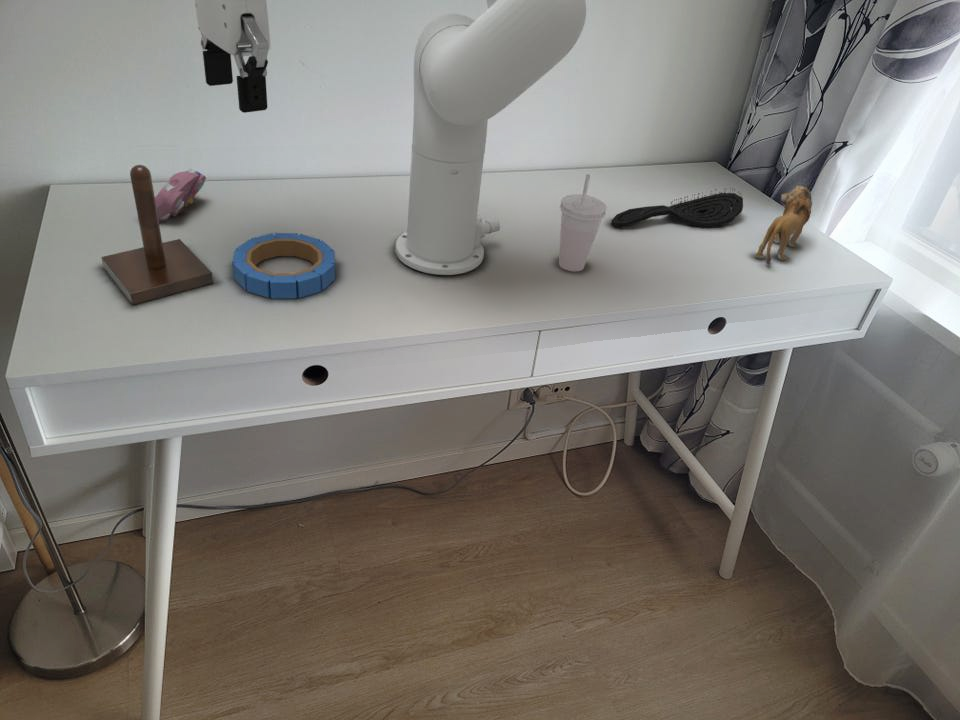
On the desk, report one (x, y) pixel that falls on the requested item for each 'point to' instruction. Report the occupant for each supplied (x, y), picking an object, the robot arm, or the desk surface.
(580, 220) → the smoothie
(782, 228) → the lion figurine
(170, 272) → the stand
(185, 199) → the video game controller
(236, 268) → the tape roll
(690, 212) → the hairbrush
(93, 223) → the desk surface
